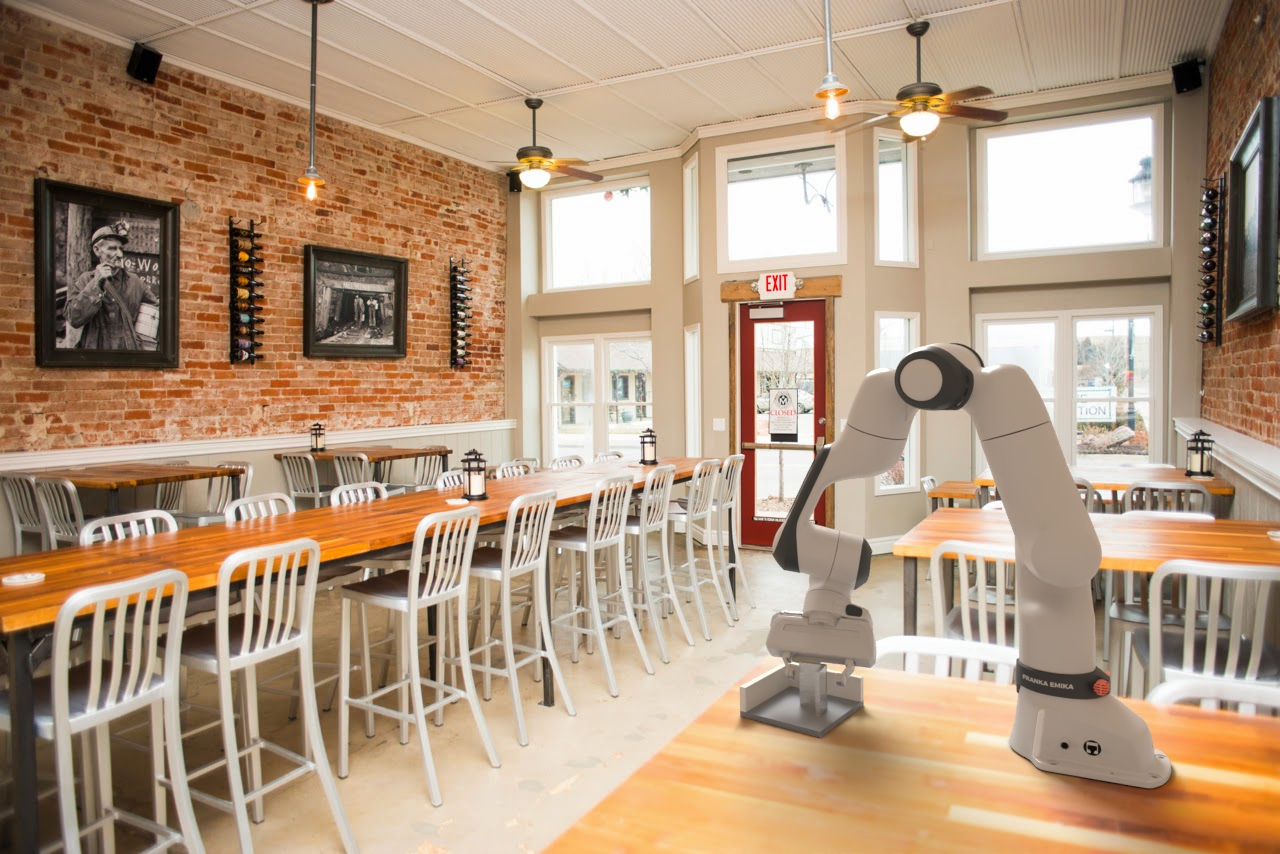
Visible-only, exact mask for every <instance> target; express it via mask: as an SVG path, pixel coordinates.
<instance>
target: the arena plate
mask: <svg viewBox="0 0 1280 854" xmlns="http://www.w3.org/2000/svg"><path fill="white" fill-rule="evenodd" d="M864 706H865V703H864V700H863V701H862V702H859V701H854V700H850V699H845V698H841V697H837V696H832V695H828V694H827V709H826V710H825V711H824V712H823V714H822V715H821V716H820V717H818V716H816V707H812V706H806V705H800V690H799V688H797V687H793V686H789V687H788V688H786V689H784V690H782V691H781V692H779V693H777V694H776V695H774V696H772V697H771V698H769V699H767V700H766V701H764V702H762V703H761V704H759V705H757V706H756V707H754V708H752V709H751V710H749V711H747V712H743V711H740V710H739V714H740V715H739V716H740V717H741V718H745V719H750V720H753V721H756V720H757V722H760V721H761V722H760V723H764V724H767V723H768V724H769V725H771V724H772V726H776V727H779V728H784V729H786V730H791V731H794V732H797V733H803V734H806V735H809V736H813V737H815V738H816V737H817V738H822V737H823V736H824V735H826V734H827V733H829V732H830V731H831V730H833V729H834V728H835V727H836V726H838V725H840V723H842V722H843V721H845V720H846V719H847V718H848V717H850V716H852V714H854V713H856V712H857V711H858V710H860V709H861V708H862V707H864Z"/></svg>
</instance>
